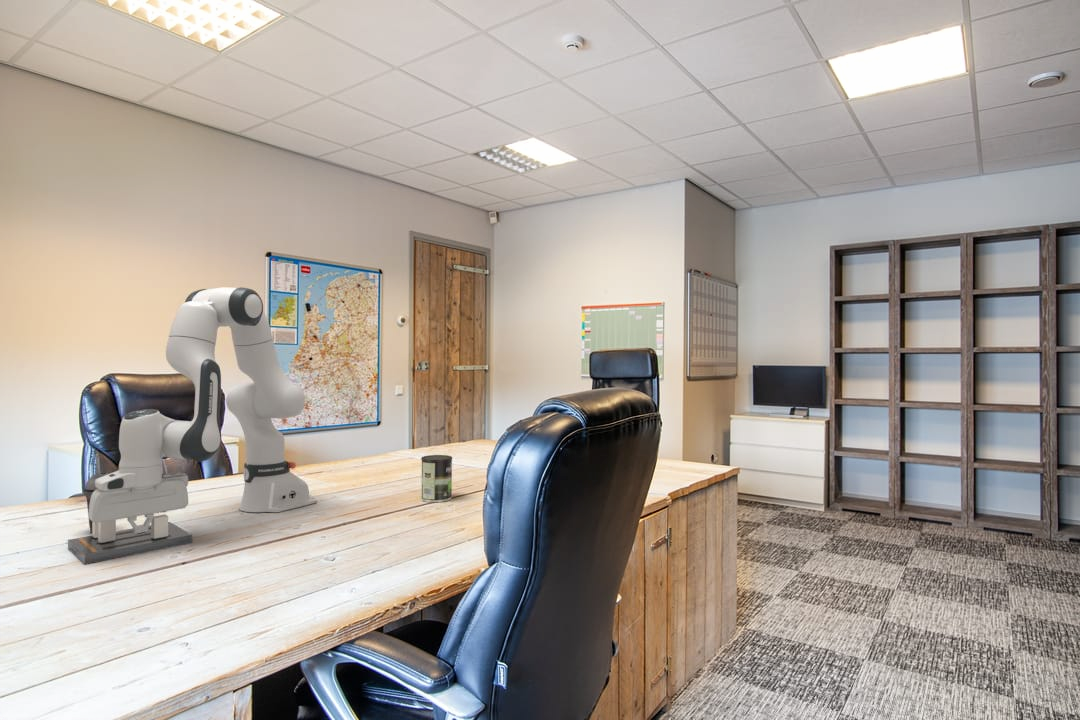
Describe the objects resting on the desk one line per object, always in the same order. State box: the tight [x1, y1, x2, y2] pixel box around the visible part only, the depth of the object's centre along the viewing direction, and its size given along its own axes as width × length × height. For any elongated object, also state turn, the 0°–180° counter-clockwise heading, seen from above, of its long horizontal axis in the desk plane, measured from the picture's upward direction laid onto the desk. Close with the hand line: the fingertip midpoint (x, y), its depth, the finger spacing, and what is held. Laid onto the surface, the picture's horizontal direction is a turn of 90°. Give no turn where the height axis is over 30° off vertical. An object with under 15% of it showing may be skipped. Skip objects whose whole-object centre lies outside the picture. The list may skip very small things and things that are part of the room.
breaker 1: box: [91, 521, 98, 538], centre depth 147 cm, size 3×2×5 cm
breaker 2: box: [98, 520, 117, 543], centre depth 143 cm, size 3×2×5 cm
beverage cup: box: [83, 456, 109, 534], centre depth 158 cm, size 7×7×20 cm
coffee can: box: [420, 454, 453, 503], centre depth 199 cm, size 10×10×14 cm
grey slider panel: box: [67, 521, 193, 565], centre depth 147 cm, size 22×17×2 cm
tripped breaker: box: [150, 513, 169, 539], centre depth 147 cm, size 3×2×5 cm
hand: (140, 533), depth 144 cm, fingers closed
